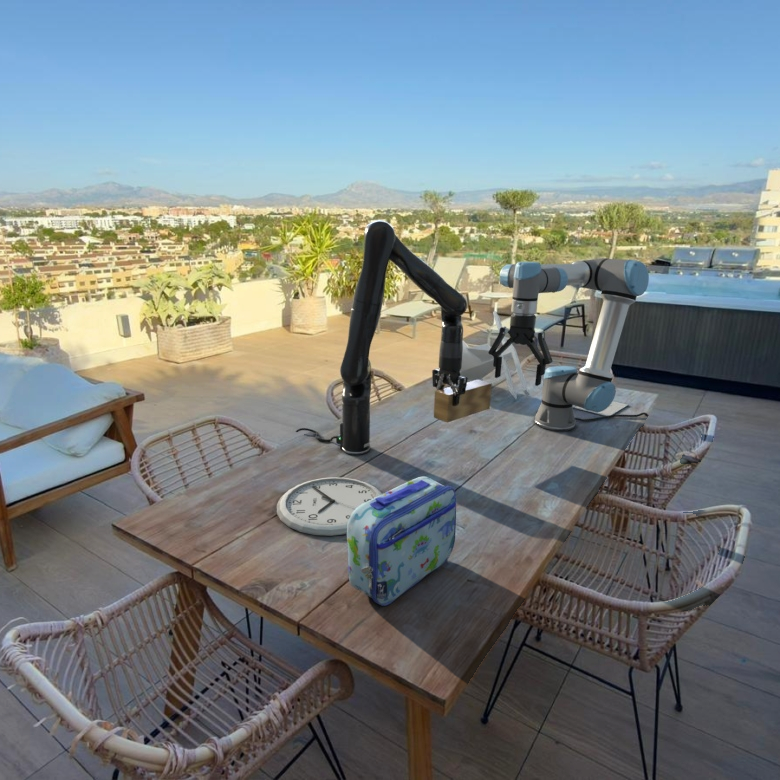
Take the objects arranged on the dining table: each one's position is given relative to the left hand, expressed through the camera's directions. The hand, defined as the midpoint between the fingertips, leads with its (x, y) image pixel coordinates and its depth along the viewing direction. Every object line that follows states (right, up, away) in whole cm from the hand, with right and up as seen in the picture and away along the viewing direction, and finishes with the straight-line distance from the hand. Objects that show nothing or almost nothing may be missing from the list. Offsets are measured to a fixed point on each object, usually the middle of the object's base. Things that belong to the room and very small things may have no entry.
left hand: (447, 402), depth 176 cm
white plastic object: (+22, +3, +67) cm, 71 cm away
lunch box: (-17, -37, -62) cm, 74 cm away
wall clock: (-35, -27, -33) cm, 55 cm away
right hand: (+21, +7, -10) cm, 24 cm away
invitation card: (+72, -3, +50) cm, 88 cm away
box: (+6, -4, +7) cm, 10 cm away
